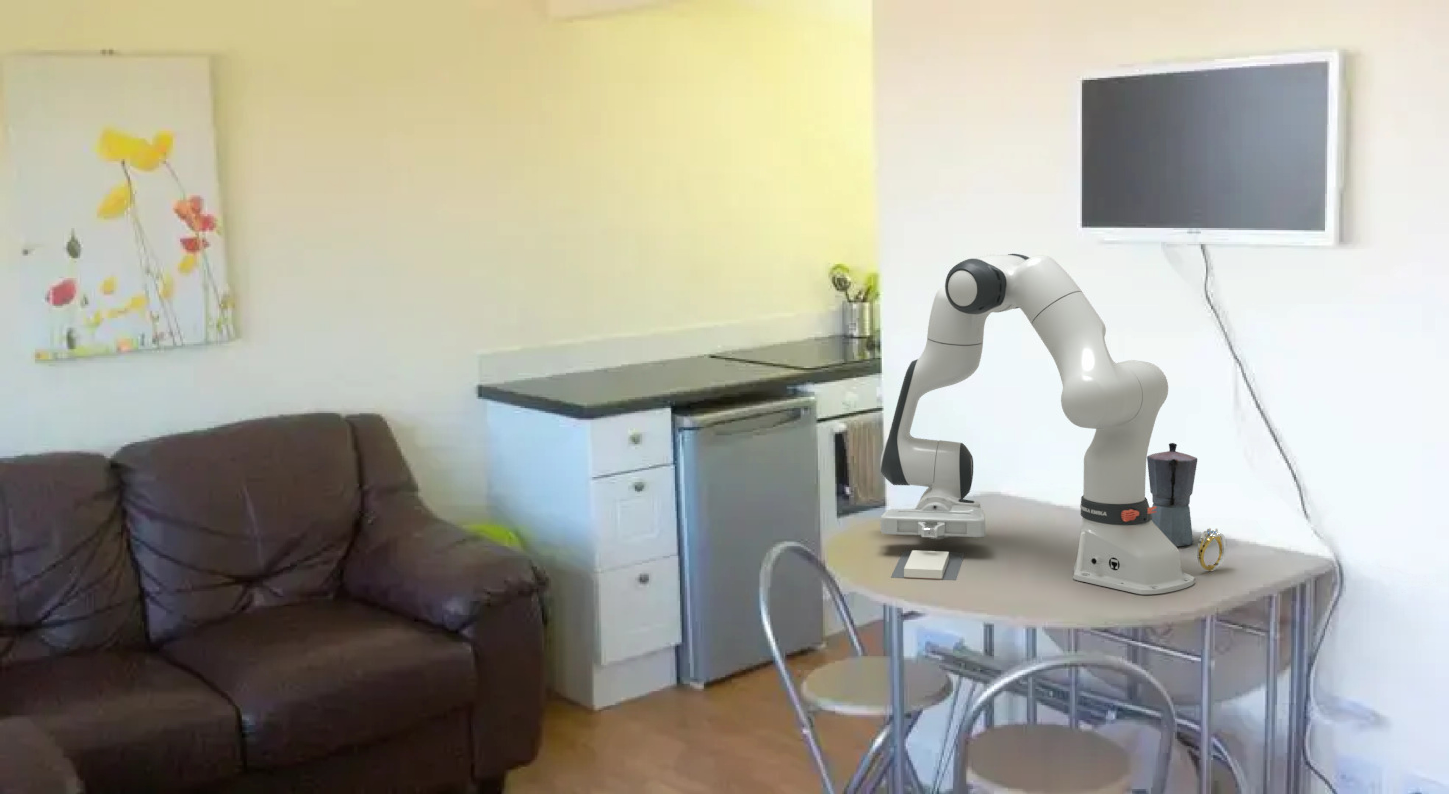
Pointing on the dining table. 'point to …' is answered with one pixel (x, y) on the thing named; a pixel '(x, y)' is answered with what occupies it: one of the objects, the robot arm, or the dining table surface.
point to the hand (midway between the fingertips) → (929, 533)
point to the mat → (949, 574)
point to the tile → (926, 564)
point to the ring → (1202, 547)
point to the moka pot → (1172, 493)
